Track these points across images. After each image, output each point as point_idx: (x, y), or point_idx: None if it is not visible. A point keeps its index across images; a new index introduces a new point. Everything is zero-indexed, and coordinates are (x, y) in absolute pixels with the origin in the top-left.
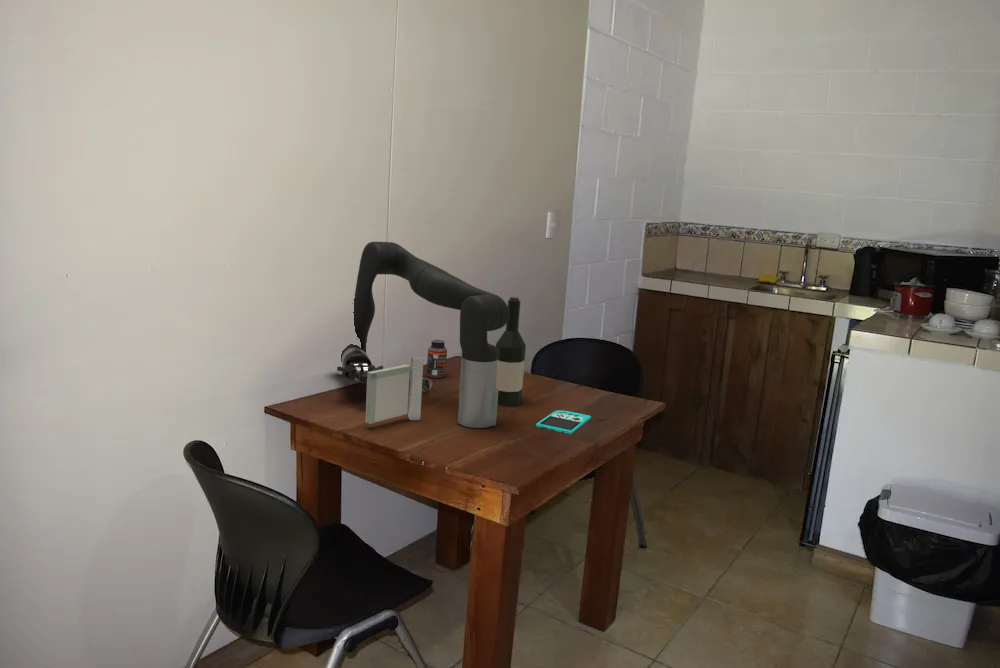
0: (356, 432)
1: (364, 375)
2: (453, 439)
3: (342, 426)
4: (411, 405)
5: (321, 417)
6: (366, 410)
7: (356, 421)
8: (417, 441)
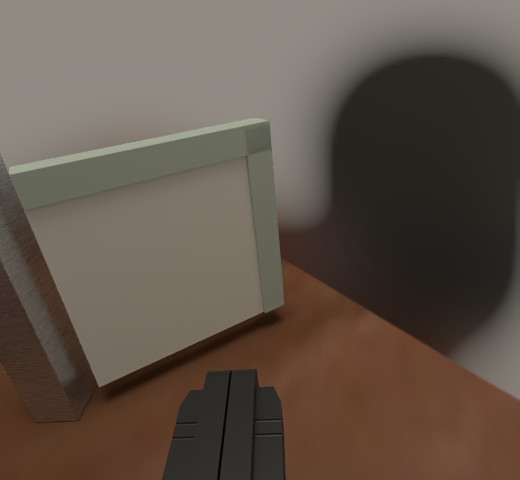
0: (315, 297)
1: (234, 372)
2: None
3: (364, 335)
4: (75, 335)
5: (488, 434)
6: (279, 265)
7: (312, 379)
8: None
